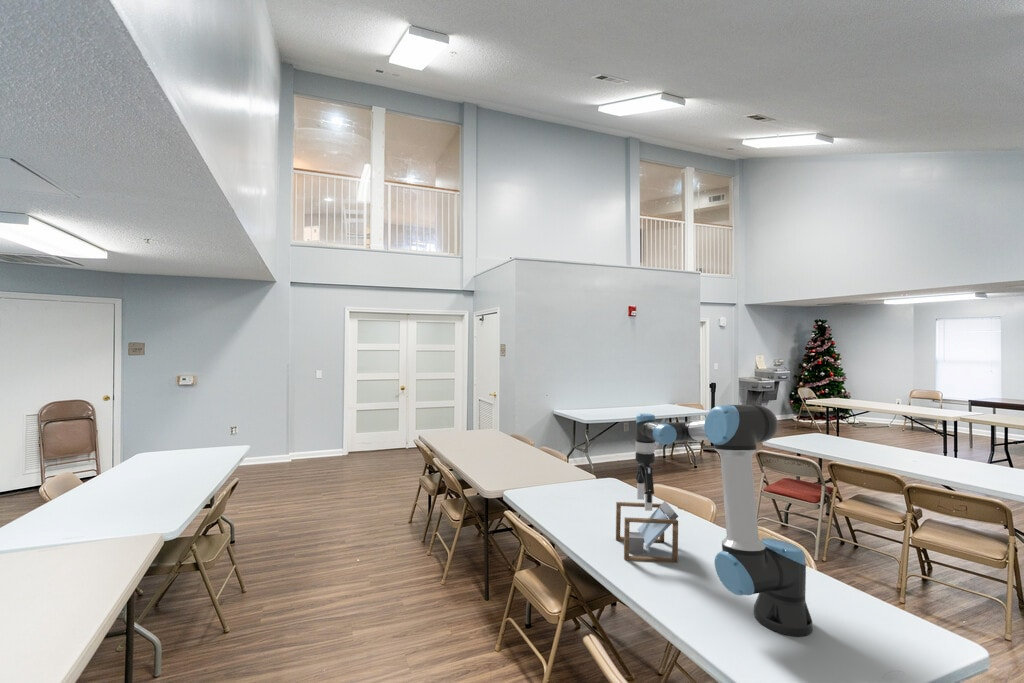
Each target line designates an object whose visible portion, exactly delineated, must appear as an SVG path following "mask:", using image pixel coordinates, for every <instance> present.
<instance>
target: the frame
mask: <svg viewBox="0 0 1024 683" xmlns="http://www.w3.org/2000/svg"><path fill="white" fill-rule="evenodd" d="M661 504H662V503H653V502H652V508H656V509H657V508H658V507H659V506H660V505H661ZM622 507H630V508H631V507H632V508H633V507H636V508H645V502H629V501H628V502H625V501H616V504H615V510H616V512H615V540H616V541H618V542H619V541H623V544H624V545H623V559H624V561H635V562H636V561H637V562H655V563H656V562H658V563H659V562H660V563H678V561H679V560H678V559H679V520H678V519H676V520H675V519H669V518H668V519H651V518H649V517H648V518H646V517H624V526H623V527H624V530H623V531H624V532H623V533H624V534H623V535H624V536H621V523H622V522H621V519H622V518H621V517H622V516H621V515H622V514H621V513H622V512H621V511H622ZM659 508H660V507H659ZM660 509H661V508H660ZM661 510H662V509H661ZM662 511H663V510H662ZM663 513H664V512H663ZM664 514H665V513H664ZM665 515H666V514H665ZM630 523H636V524H637V523H639V524H640V523H641V524H643V523H660V524H671V525H672V538H671V539H672V547H671V548H672V549H671V550H672V551H671V554H672V555H671V556H672V557H667V556H665V557H664V556H663V557H661V556H641V555H640V556H639V555H637V556H636V555H630V553H629V532H630V525H631V524H630ZM654 543H665V531H664V532H663V533H662V534H661V535H660V536H659V538H658V539H657V540H656V541H655V542H654Z"/></svg>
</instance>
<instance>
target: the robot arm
mask: <svg viewBox="0 0 1024 683" xmlns="http://www.w3.org/2000/svg"><path fill="white" fill-rule="evenodd" d="M635 420H636V421H635V461H636V462H637V470H636V476H635V480H636V482H637V483H636V484H637V485H636V486H637V488H636V491H637V494H636V498H637V500H642V501H643V500H644V503H645V507H644V511H646V512H647V511H648V512H651V511H653V507H652V503H653V495H654V494H655V488H654V478H653V467H650V466H651V464H654V463H655V462H656V456H655V455H656V454H655V449H656V447H657V444H656V443H659V444H661V445H671V444H673V443H677V442H678V443H680V442H681V443H682V442H698V441H709V442H710V443H712V444H713V448H714V451H716V452H717V453H718V454H719V456H720V469H721V480H722V482H721V483H722V492H723V505H724V517H725V531H726V536H725V537H724V538H723V540H722V541H721V547H722V548H721V549H722V550H721V551H719V552H717V554H716V555H715V557H714V569H715V573H716V575H717V577H718V579H719V580H720V582H721V583H722V586H723V587H724V588H725V589H726V590H727V591H729V592H730V593H732V594H733V595H735V596H753V595H756V594H758V595H757V598H756V600H755V601H754V602H755V603H754V605H753V616H754V618H755V619H756V621H757V622H759V623H760V624H761V625H763V626H764V627H766V628H768V629H769V630H772V631H773V632H777V633H779V634H782V635H787V636H791V637H805V636H808V635H811V633H812V632H813V620H812V616H811V613H810V611H809V607H808V605H807V600H806V592H807V591H806V590H807V589H806V586H807V585H806V579H807V575H806V574H807V571H806V570H807V562H806V553H805V552H804V550H803V549H802V548H800V547H799V546H797V545H795V544H792V543H791V542H787V541H784V540H781V539H776V538H770V537H768V538H767V537H765V538H762V539H761V540H760V537H759V536H760V534H759V524H758V513H757V501H756V491H755V480H754V468H753V466H754V465H753V458H752V456H753V455H754V454H755V453H756V452H757V443H763V442H767V441H769V440H771V439H772V438H774V436H776V434H777V432H778V429H779V422H778V418H777V416H776V415H775V413H774V412H773V411H772V410H771V409H770V408H768V407H766V406H763V405H759V404H726V405H725V404H724V405H717V406H715V407H713V408H712V407H711V409H710V410H709V412H708V413H707V414H706V417H705V418H704V419H699V420H691V421H690V420H689V421H681V422H679V421H677V422H675V421H674V422H660V421H657V420H656V416H655V414H652V413H638V414H637V415H636V419H635ZM655 442H656V443H655Z"/></svg>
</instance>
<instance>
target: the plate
mask: <svg viewBox="0 0 1024 683" xmlns="http://www.w3.org/2000/svg"><path fill="white" fill-rule="evenodd" d="M660 504H661V505H660V506H659V507H660V508H661V509H662V510H663V511H662V510H661V509H660V508H659V507H658V508H656V510H654V511H653V513H652V514H651V515H650V516H649V517H648V518H651V519H675V520H677V518H679V515H678V514H677V512H675V510H674V509H673V508H672V507H671V506H670V505H669V503H667V502H666V501H663V502H662V503H660ZM663 512H664V513H665V514H664V513H663ZM671 525H672V524H660V523H641V525H640V526H639V527H638V528H637V532H640V533H641V535H642V536H643V538H644V543H645V545H646V546H647V548H650V547H651V546H652V545H653V544H654V543H656V542H655V541H656V540H657V539H658V538H659V536H660V535H661V534H662V533H663V532H664V533H665V532H666V530H667V529H668V528H669V527H670V526H671Z"/></svg>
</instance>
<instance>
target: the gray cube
mask: <svg viewBox="0 0 1024 683" xmlns="http://www.w3.org/2000/svg"><path fill="white" fill-rule="evenodd" d="M644 543H645V542H644V538H643V536H642V535H641V533H640V532H639V531H629V554H631V553H632V554H644V545H645V544H644Z"/></svg>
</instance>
